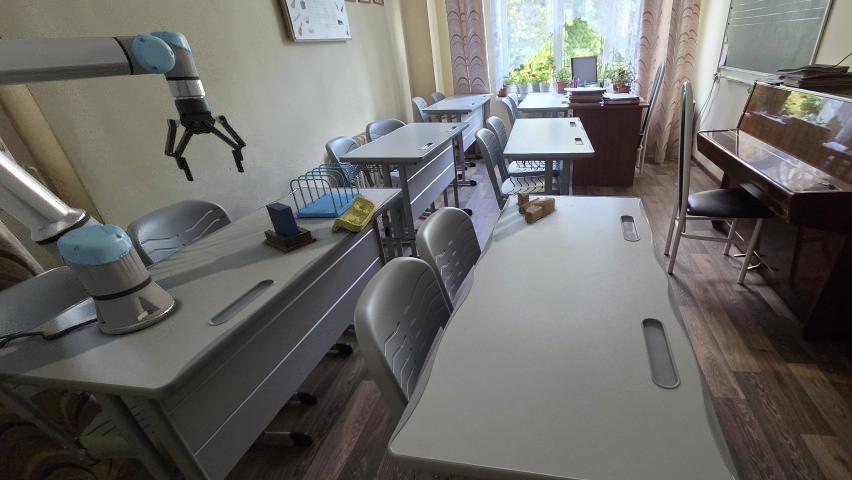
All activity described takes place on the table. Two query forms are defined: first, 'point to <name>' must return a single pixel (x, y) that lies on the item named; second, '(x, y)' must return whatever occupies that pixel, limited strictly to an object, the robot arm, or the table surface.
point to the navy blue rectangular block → (282, 219)
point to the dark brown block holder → (288, 239)
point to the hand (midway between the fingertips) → (217, 176)
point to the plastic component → (356, 215)
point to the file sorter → (326, 196)
